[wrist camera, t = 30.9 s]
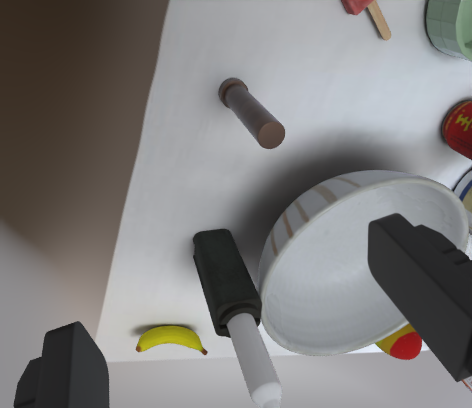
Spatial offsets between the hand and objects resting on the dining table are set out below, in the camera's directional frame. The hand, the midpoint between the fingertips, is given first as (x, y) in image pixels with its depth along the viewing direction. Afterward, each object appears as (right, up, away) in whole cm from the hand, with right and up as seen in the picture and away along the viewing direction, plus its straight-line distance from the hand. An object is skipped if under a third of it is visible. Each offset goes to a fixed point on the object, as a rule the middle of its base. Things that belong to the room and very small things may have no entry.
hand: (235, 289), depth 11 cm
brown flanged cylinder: (0, +14, +31) cm, 34 cm away
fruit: (-10, -16, +48) cm, 51 cm away
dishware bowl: (+12, 0, +45) cm, 47 cm away
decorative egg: (+26, -17, +61) cm, 68 cm away
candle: (-3, -3, +42) cm, 42 cm away
